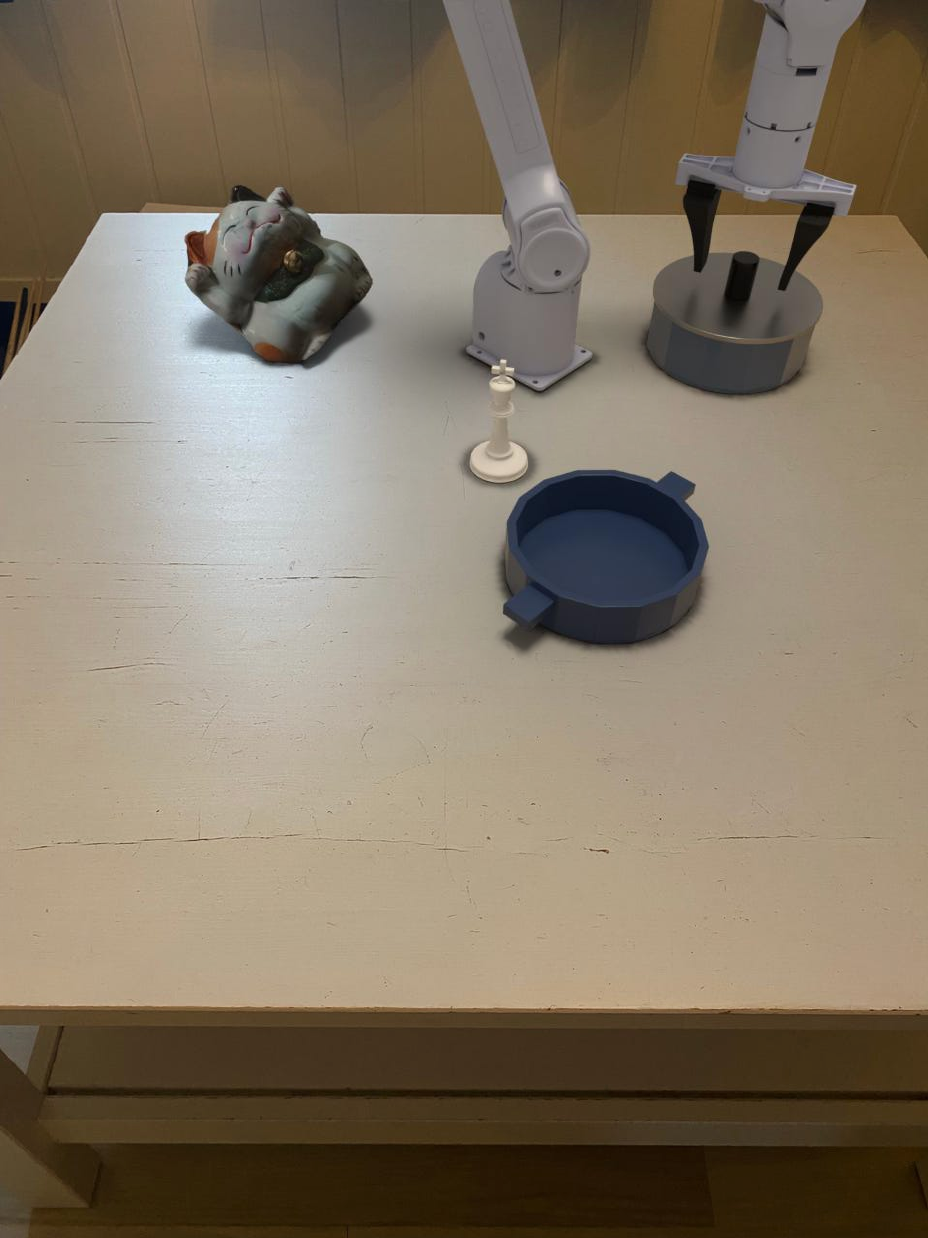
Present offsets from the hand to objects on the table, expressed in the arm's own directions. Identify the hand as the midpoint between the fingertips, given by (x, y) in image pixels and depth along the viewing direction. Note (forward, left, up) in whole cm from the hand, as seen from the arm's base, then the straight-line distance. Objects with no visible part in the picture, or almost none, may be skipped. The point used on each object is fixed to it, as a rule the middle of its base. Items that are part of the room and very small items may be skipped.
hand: (741, 276), depth 86 cm
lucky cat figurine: (-33, -27, -8) cm, 43 cm away
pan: (+10, -32, -8) cm, 34 cm away
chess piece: (-4, -28, -8) cm, 29 cm away
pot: (0, 0, -8) cm, 8 cm away
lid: (0, 0, -2) cm, 2 cm away
